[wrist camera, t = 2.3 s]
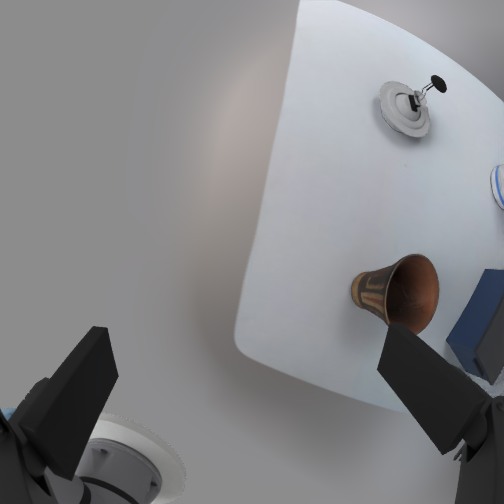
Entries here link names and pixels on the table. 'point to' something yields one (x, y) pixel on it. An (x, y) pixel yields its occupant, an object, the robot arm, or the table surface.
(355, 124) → the table surface
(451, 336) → the storage box
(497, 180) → the supplement tub
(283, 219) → the table surface
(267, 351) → the table surface
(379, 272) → the cup
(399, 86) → the round stand with stem
